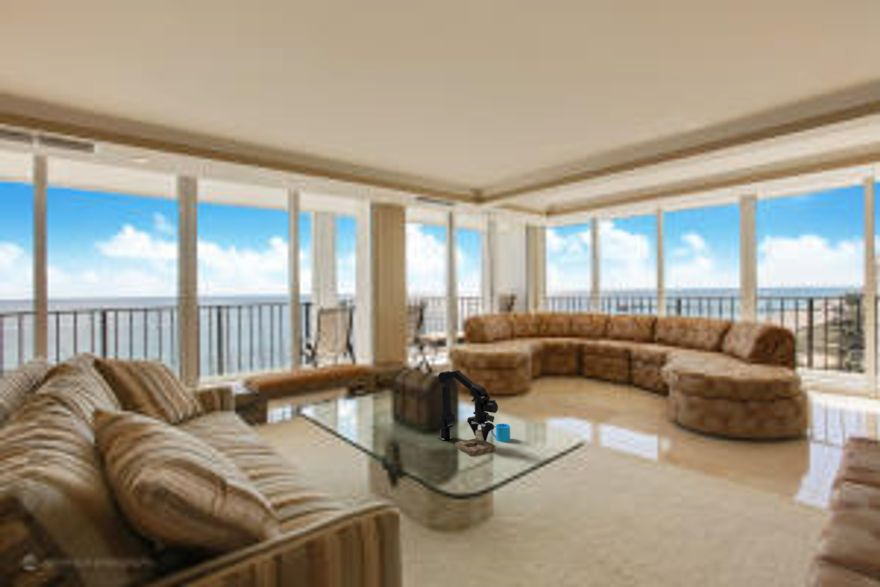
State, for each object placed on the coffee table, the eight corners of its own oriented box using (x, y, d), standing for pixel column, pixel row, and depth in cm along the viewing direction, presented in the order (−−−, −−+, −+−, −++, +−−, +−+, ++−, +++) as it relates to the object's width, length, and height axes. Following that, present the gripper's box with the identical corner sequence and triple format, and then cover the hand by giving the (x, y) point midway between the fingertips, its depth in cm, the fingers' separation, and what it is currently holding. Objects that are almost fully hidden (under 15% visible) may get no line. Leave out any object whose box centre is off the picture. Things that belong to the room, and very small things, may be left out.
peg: (474, 447, 231) (473, 430, 231) (481, 445, 233) (481, 429, 233) (478, 449, 226) (478, 433, 227) (486, 448, 228) (485, 431, 229)
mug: (512, 438, 243) (512, 424, 243) (506, 442, 236) (505, 428, 236) (494, 435, 250) (494, 421, 250) (487, 439, 243) (487, 425, 243)
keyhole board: (470, 456, 217) (470, 451, 217) (455, 447, 232) (455, 442, 232) (495, 450, 225) (495, 445, 225) (479, 442, 239) (479, 437, 239)
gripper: (501, 411, 226) (502, 440, 225) (482, 404, 242) (483, 431, 242) (484, 414, 221) (485, 444, 220) (466, 407, 237) (467, 435, 237)
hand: (480, 438), depth 230 cm, fingers open, 9 cm apart
